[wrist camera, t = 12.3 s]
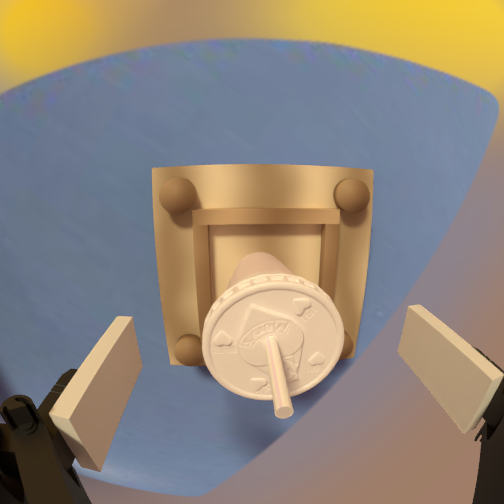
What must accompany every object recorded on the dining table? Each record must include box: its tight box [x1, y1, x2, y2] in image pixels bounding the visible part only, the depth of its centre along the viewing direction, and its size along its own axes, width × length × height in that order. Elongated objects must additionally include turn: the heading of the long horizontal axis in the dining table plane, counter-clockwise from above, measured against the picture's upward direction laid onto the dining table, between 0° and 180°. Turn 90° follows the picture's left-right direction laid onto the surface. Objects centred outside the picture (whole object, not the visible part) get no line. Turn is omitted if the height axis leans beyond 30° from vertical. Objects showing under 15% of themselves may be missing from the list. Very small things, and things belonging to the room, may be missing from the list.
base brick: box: [152, 164, 373, 366], centre depth 23 cm, size 16×16×6 cm
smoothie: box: [202, 252, 344, 418], centre depth 15 cm, size 6×6×14 cm
